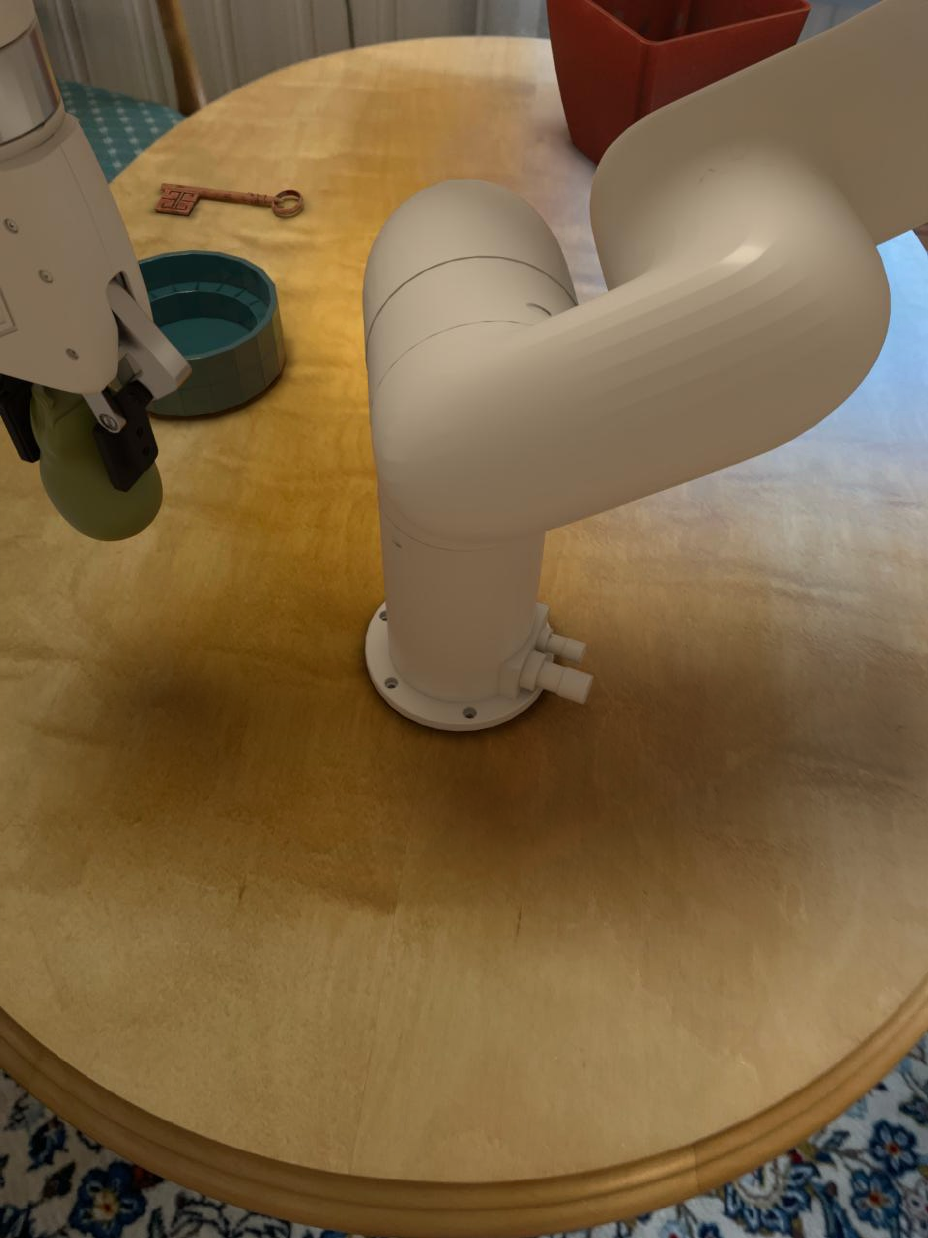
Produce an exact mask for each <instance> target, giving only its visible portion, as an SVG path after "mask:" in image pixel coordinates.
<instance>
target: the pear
mask: <svg viewBox="0 0 928 1238" xmlns="http://www.w3.org/2000/svg"><path fill="white" fill-rule="evenodd" d="M107 386H108V388H109V390H110V392H111V393H112V395H113V396H114V395H115V394H116V393H117V391H118V390H116V389H114V388H112V387H111V386H110V385H109V384H108V385H107ZM31 390H32V394H33V396H32V398H31V402H30V420H31V427H32V431H33V434H34V437H35V439H36V442H37V444H38V446H39V448H40V450H41V451H40V460H38V461H39V462H38V464H39V475H40V479H41V483H42V485H43V488H44V491H45V493H46V494H47V497H48V499H49V500H50V502H51V503H52V505H53V506H54V508H55V509H56V511H57V512H58V514H60V516H61V517H62V518H63V519H64V520H65V521H66V523H68V524H69V525H70V526H71V527H72V528H73V529H74V530H76V531H77V532H79V533H80V534H81V535H83V536H86V537H88V538H90V539H92V540H96V541H100V542H120V541H123V540H127V539H130V538H133V537H135V536H137V535H139V534H141V533H142V532H143V531H144V530H146V529H147V528H148V527H149V526H150V525H151V524H152V523H153V522H154V521H155V519H156V518H157V516H158V514H159V512H160V509H161V507H162V503H163V498H164V488H163V481H162V477H161V474H160V473H161V472H160V470H159V467H158V465H157V463H156V461H155V462H154V463H153V464H152V466H151V467H150V468H149V469H148V470H147V471H145V472H144V473H143V475H142V476H141V477H140V478H139V479H138V481H137V482H136V483H135V484H134V485H133V486H132V488H131V489H130V490H129V491H128V492H122V491H119V490H116V489H114V487H113V485H112V484H111V482H110V479H109V476H108V474H107V471H106V468H105V466H104V463H103V460H102V458H101V455H100V453H99V450H98V447H97V445H96V442H95V439H94V437H93V434H92V431H93V428H94V427H95V425H96V424H97V423H98V420H97V418H96V417H95V415H94V413H93V412H92V410H91V408H90V407H89V405H88V403H87V402H86V400H85V398H84V397H83V395H82V394H77V393H72V392H67V391H63V390H59V389H55V388H51V387H48V386H44V385H41V384H37V383H33V385H32V388H31Z"/></svg>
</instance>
